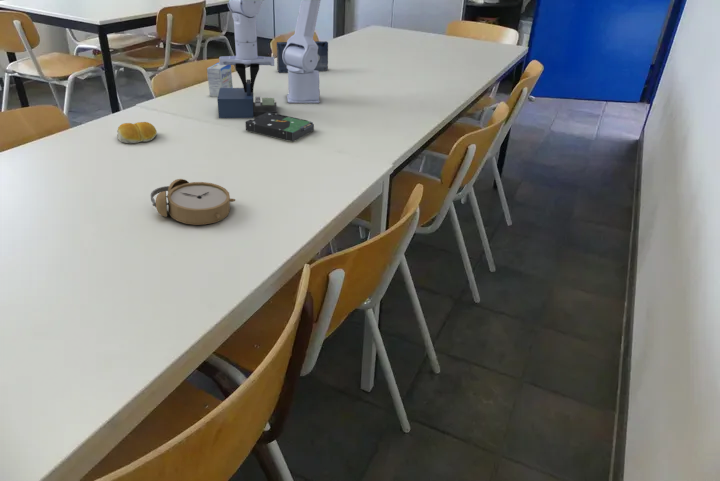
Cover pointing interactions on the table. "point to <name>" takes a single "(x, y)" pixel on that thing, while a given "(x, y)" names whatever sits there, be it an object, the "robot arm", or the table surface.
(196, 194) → the alarm clock
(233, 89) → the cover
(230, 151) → the table surface
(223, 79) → the medicine box
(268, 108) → the control panel
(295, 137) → the disk drive
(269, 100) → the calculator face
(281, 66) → the vhs cassette tape
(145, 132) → the bread roll
